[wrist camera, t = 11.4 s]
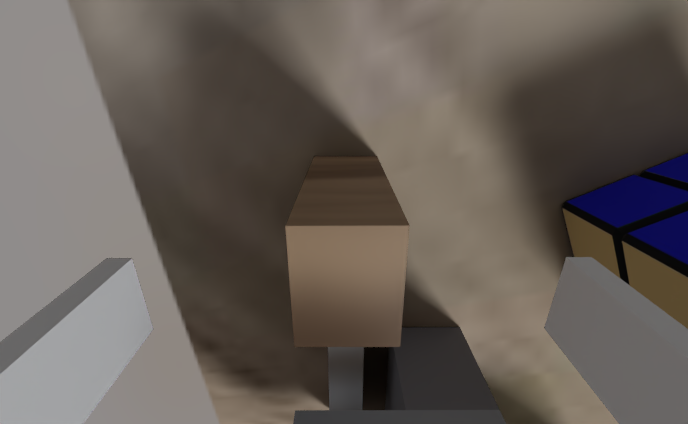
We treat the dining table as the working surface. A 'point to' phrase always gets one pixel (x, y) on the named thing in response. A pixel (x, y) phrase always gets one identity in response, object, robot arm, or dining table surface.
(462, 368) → the grey cabinet
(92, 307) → the robot arm
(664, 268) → the puzzle cube
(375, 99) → the dining table surface
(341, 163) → the tan block on post
